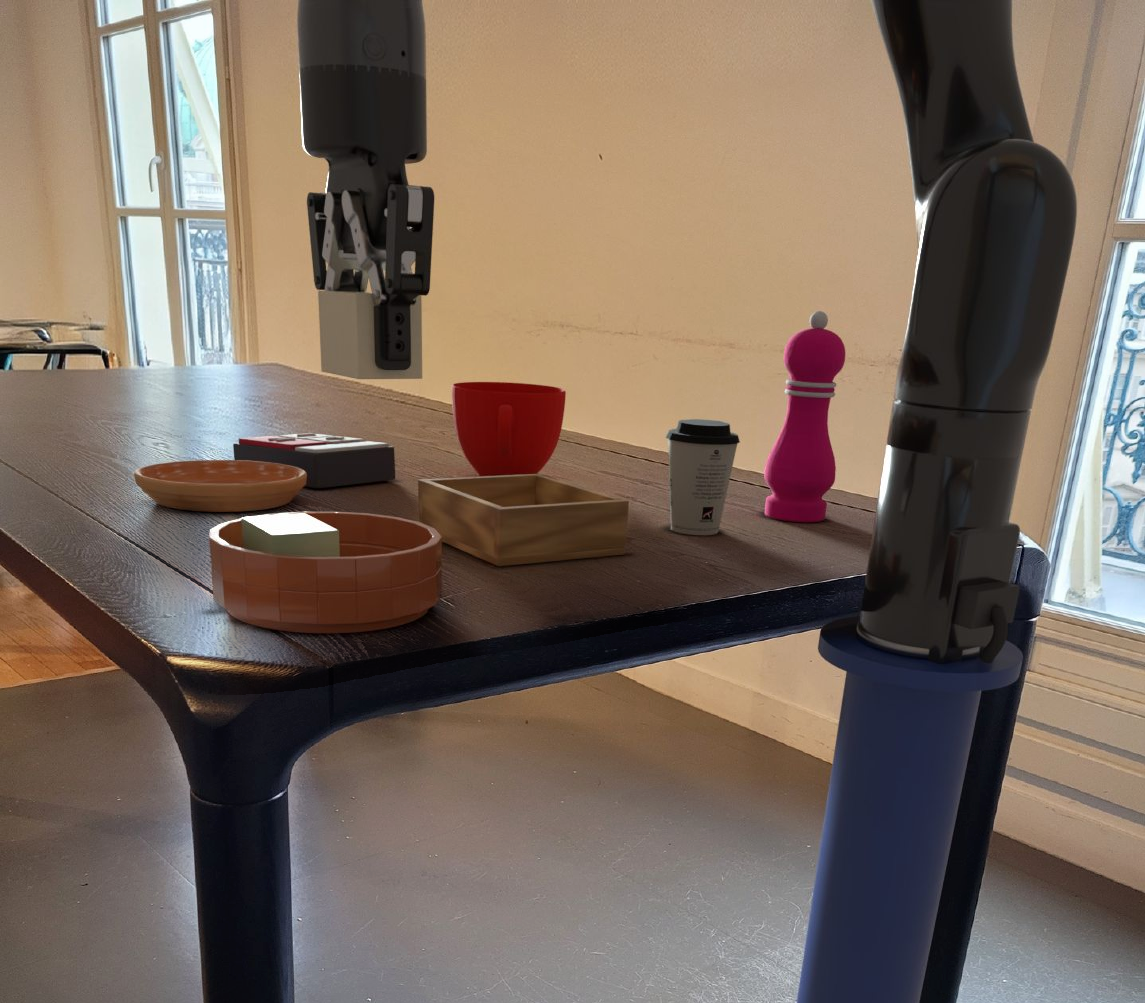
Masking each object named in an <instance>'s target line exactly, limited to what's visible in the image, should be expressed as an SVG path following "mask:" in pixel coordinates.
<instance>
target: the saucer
mask: <svg viewBox="0 0 1145 1003" xmlns="http://www.w3.org/2000/svg"><path fill="white" fill-rule="evenodd" d="M133 477H134V482H135V484H136V486H138V487H139V488H140V489H141V490H142V492H143V493H145V494H146V495H147V496H148V497H149V498H150V499H151V500H152V501H154V502H155V504H157V505H160V506H162V507H165V508H170V509H175V510H182V511H191V512H208V513H211V512H212V513H231V512H232V513H234V512H236V513H237V512H253V511H262V510H269V509H275V508H280V507H282V506H286V505H287V504H289V503H290V502H292V500H293V499H294V498H295V497H296V496H297V494H299V493H300V492H301V491H302V489H303V488H304V487H305V485H306V480H307V473H306V472H305V471H304V470H302V469H300V468H297V467H294V466H290V465H284V464H278V463H270V462H259V461H244V460H234V459H200V460H199V459H198V460H197V459H193V460H181V461H179V460H178V461H168V462H161V463H154V464H149V465H145V466H142V467H139V468H137V469H135V471H134V472H133Z"/></svg>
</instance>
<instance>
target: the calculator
mask: <svg viewBox="0 0 1145 1003" xmlns="http://www.w3.org/2000/svg"><path fill="white" fill-rule="evenodd" d="M232 450H233V458H234V459H233V460H244V461H259V462H270V463H278V464H284V465H290V466H294V467H297V468H300V469H302V470H304V471H305V472H306V473H307V480H306V485H305V486H304V487H306V488H310V489H325V488H335V487H344V486H353V485H361V484H370V483H379V482H387V481H394V480H396V460H395V459H396V458H395V456H396V455H395V447H394V446H392V445H391V446H390V445H389V443H388V442H378V441H370V440H369V441H368V440H367V441H365V439H364V438H359V437H349V436H344V435H339V436H338V435H336V436H335V435H332V434H331V435H330V434H323V433H315V432H307V433H294V434H279V435H277V436H276V435H265V436H252V437H240V438H238V442H235V443H233V444H232Z"/></svg>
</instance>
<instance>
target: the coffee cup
mask: <svg viewBox="0 0 1145 1003" xmlns="http://www.w3.org/2000/svg"><path fill="white" fill-rule="evenodd" d="M665 439H667V444H668V445H667V448H668V449H667V451H668V481H669V482H668V484H669V507H670V508H669V513H670V530H671V531H672V532H675V533H678V534H684V535H689V536H712V535H717V534H718V533H719V530H720V526H721V522H722V516H723V512H724V507H725V503H726V499H727V493H728V489H729V484H730V479H731V475H732V470H733V465H734V461H735V457H736V452H737V447H738V444H739V443H741V441H740V438H739V435H738V433H735V432H731V424H730V423H728V422H724V421H720V420H713V419H701V418H700V419H698V418H695V419H694V418H693V419H681V420H678V422H677V425H676V428H672V429H668V431H667V433H666V435H665Z"/></svg>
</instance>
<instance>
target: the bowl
mask: <svg viewBox="0 0 1145 1003" xmlns="http://www.w3.org/2000/svg"><path fill="white" fill-rule="evenodd" d="M289 514H307V515H309V516H311V517H313V518H315V519H317V520H319V521H321V522H323V523H325V524H327V525H329V526H331V527H333V528H335V529H337V530H339V550H340V557H309V556H293V555H279V554H272V553H265V552H259V551H252V550H247V549H244V548H243V536H242V519H241V518H242V517H240V518H236V519H232V520H229V521H224V522H221V523H220V524H217V525H216V526H214V527H212V528H211V529H209V535H208V541H209V542H208V544H209V556H210V569H211V584H212V585H211V586H212V597H213V601H214V602H216V603H217V604H218V605H219V606H221V607H222V608H223V609H225V610H226V611H227V613H228V614H229V615H230V616H232V617H233V618H234V619H236V620H238V621H240V622H242V623H246V624H248V625H251V626H255V627H259V628H263V629H267V630H268V629H269V630H275V631H280V632H281V631H282V632H290V633H300V634H301V633H303V634H327V635H328V634H329V635H330V634H351V633H364V632H373V631H380V630H387V629H390V628H395V627H399V626H403V625H406V624H409V623H412V622H415V621H417V620H419V619H421V618H422V617H424V616H425V615H426V614H427V613H428V612H429V610H430V609H431V608H432V607H434V606H436V605H437V603H438V602H439V600H440V599H441V597H442V564H443V563H442V561H443V560H442V559H443V558H442V555H443V554H442V552H443V551H442V548H443V547H442V545H443V544H442V543H443V542H442V537H441V535H440V534H439V533H438V531H437V530H436V529H434V528H432V527H430V526H427V525H425V524H423V523H420V522H418V521H416V520H411V519H407V518H403V517H399V516H398V517H397V516H390V515H383V514H375V513H368V512H367V513H366V512H352V511H351V512H348V511H291V512H289V511H288V512H273V513H265V514H258V515H251V516H249V517H257V516H273V515H289Z"/></svg>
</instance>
